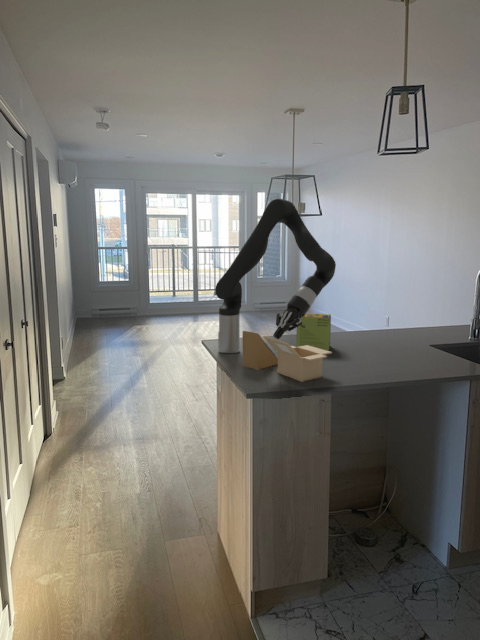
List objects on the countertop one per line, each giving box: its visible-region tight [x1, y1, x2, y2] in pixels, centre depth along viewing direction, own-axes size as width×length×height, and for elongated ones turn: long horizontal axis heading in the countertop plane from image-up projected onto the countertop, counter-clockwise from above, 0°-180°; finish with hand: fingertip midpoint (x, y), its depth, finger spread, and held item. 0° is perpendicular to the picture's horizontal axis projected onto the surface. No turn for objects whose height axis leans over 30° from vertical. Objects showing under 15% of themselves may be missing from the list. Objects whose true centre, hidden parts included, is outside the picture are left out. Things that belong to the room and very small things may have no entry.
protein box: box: [295, 312, 332, 351], centre depth 228 cm, size 10×15×16 cm
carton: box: [273, 345, 333, 383], centre depth 187 cm, size 20×15×9 cm
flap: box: [263, 335, 301, 358], centre depth 179 cm, size 14×9×1 cm
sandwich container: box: [242, 330, 278, 371], centre depth 200 cm, size 9×15×15 cm, turn 137°
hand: (275, 337), depth 177 cm, fingers closed
